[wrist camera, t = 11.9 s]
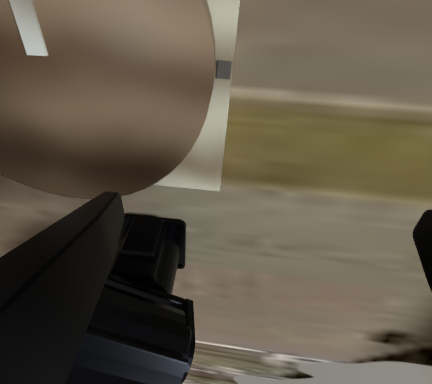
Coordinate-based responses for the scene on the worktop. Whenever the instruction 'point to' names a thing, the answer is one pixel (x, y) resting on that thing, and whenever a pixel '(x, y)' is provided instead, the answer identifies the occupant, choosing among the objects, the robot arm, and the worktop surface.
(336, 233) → the worktop surface
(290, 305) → the worktop surface
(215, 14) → the birch board
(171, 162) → the walnut dial
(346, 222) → the worktop surface
